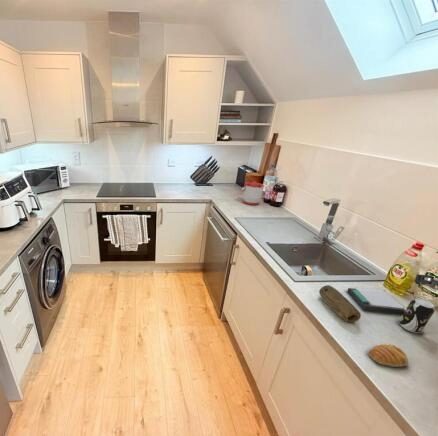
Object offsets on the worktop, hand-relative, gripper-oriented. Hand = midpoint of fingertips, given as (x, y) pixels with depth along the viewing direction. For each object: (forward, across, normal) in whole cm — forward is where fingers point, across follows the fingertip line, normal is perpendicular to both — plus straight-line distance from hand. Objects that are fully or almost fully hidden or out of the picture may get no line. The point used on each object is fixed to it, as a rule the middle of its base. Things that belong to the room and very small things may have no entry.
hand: (434, 286), depth 78 cm
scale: (+20, +5, +12) cm, 23 cm away
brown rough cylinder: (+10, +18, +20) cm, 29 cm away
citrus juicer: (+110, +72, -32) cm, 136 cm away
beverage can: (+11, -3, +16) cm, 19 cm away
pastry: (-6, +6, +28) cm, 29 cm away
